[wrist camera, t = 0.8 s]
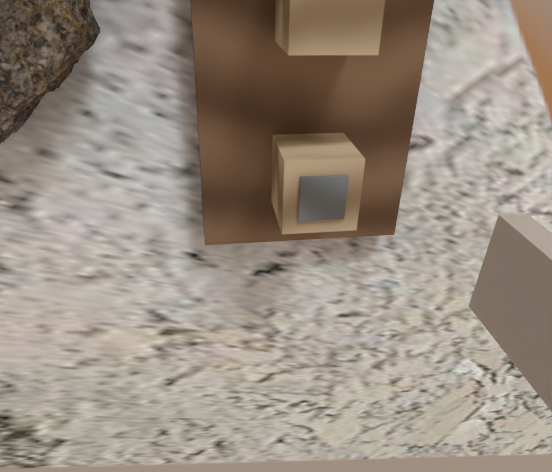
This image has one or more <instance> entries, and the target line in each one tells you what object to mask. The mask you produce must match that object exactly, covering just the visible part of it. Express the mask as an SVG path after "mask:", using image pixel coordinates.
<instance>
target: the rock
mask: <svg viewBox="0 0 552 472" xmlns="http://www.w3.org/2000/svg"><path fill="white" fill-rule="evenodd" d="M99 33H100V28H99V26H98V24H97V22H96V20H95V18H94V16H93V13H92V10H91V8H90V0H0V143H1V142H4V141H5V140H6V139H7V138H8V137H9V136H10V135H11V134H12V133H14V132H17V131H18V129H19V128H20V127H21V126H22V125H23V124H24V123H25V122H26V120H27V119H28V118H29V116H30V115H31V114H32V112H33V110H34V109H35V107H36V106H37V105H38V104H39V102H40V99H41V98H42V97H43V96H44V95H45V94H46V93H47V92H50V91H54V90H55V89H56V88H59V86H60V85H61V83H62V82H63V81H64V80H65V79H66V78H67V77H68V75H69V74H70V73H71V71H72V69H73V66H74V64H75V63H77V62H78V60H79V57H80V56H81V55H82V54H83V52H84V51H86V50H88V49H89V48H90V47H91V46H92V45H93V44H94V42H95V40H96V38H97V36H98V34H99Z"/></svg>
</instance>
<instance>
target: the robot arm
mask: <svg viewBox="0 0 552 472" xmlns="http://www.w3.org/2000/svg"><path fill="white" fill-rule="evenodd" d="M469 307H470V308H471V310H472V311H473V312H474V313H475V315H476V316H477V317H478V318H479V320H480V321H481V322H482V324H483V325H484V326H485V327H486V329H487V330H488V331H489V332H490V334H491V335H492V336H493V338H494V339H495V340H496V341H497V343H498V344H499V345H500V346H501V348H502V349H503V350H504V352H505V353H506V354H507V355H508V357H509V358H510V359H511V360H512V362H513V363H514V364H515V366H516V367H517V368H518V369H519V371H520V372H521V373H522V374H523V376H524V377H525V378H526V380H527V381H528V382H529V383H530V385H531V386H532V387H533V389H534V390H535V391H536V392H537V394H538V395H539V396H540V397H541V399H542V400H543V401H544V403H545V404H546V405H547V406H548V408H549V409H550V410H551V411H552V233H551V232H550V231H548V230H547V229H546V228H545V227H543V226H542V225H541V224H539V223H538V222H537V221H536V220H534V219H533V218H532V217H530V216H529V215H528V214H517V215H498V218H497V221H496V224H495V228H494V231H493V234H492V237H491V240H490V243H489V246H488V249H487V252H486V255H485V258H484V261H483V264H482V267H481V271H480V274H479V277H478V280H477V283H476V286H475V289H474V292H473V295H472V298H471V301H470V304H469Z"/></svg>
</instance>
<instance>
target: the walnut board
mask: <svg viewBox="0 0 552 472" xmlns="http://www.w3.org/2000/svg"><path fill="white" fill-rule="evenodd" d="M275 2H276V0H191V14H192V31H193V48H194V65H195V82H196V99H197V116H198V133H199V150H200V167H201V184H202V201H203V218H204V235H205V245H214V244H232V243H250V242H268V241H286V240H304V239H322V238H340V237H359V236H377V235H394V232H395V226H396V221H397V215H398V209H399V203H400V197H401V191H402V185H403V179H404V174H405V168H406V162H407V156H408V150H409V144H410V138H411V132H412V127H413V121H414V115H415V109H416V103H417V97H418V91H419V85H420V80H421V74H422V68H423V62H424V56H425V50H426V44H427V38H428V33H429V27H430V21H431V15H432V9H433V3H434V0H385V6H384V14H383V22H382V30H381V38H380V46H379V54H378V55H287V54H286V52H285V51H284V50H283V49H282V48H281V47H280V46H279V45H278V44H277V43H276V42H275ZM318 133H344V134H345V135H346V136H347V137H348V139H349V140H350V141H351V142H352V143H353V145H354V146H355V147H356V148H357V149H358V151H359V152H360V153H361V154H362V155H363V157H364V158H365V167H364V175H363V183H362V191H361V199H360V207H359V215H358V223H357V230H354V231H336V232H317V233H298V234H282V233H281V230H280V227H279V223H278V220H277V217H276V214H275V211H274V208H273V204H272V201H271V191H272V144H273V135H277V134H318Z"/></svg>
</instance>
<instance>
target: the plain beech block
mask: <svg viewBox="0 0 552 472" xmlns="http://www.w3.org/2000/svg"><path fill="white" fill-rule="evenodd" d="M384 6H385V0H276V2H275V42H276V43H277V44H278V45H279V46H280V47H281V48H282V49H283V50H284V51H285V52H286V54H287V55H378V54H379V46H380V38H381V30H382V22H383V14H384Z"/></svg>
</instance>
